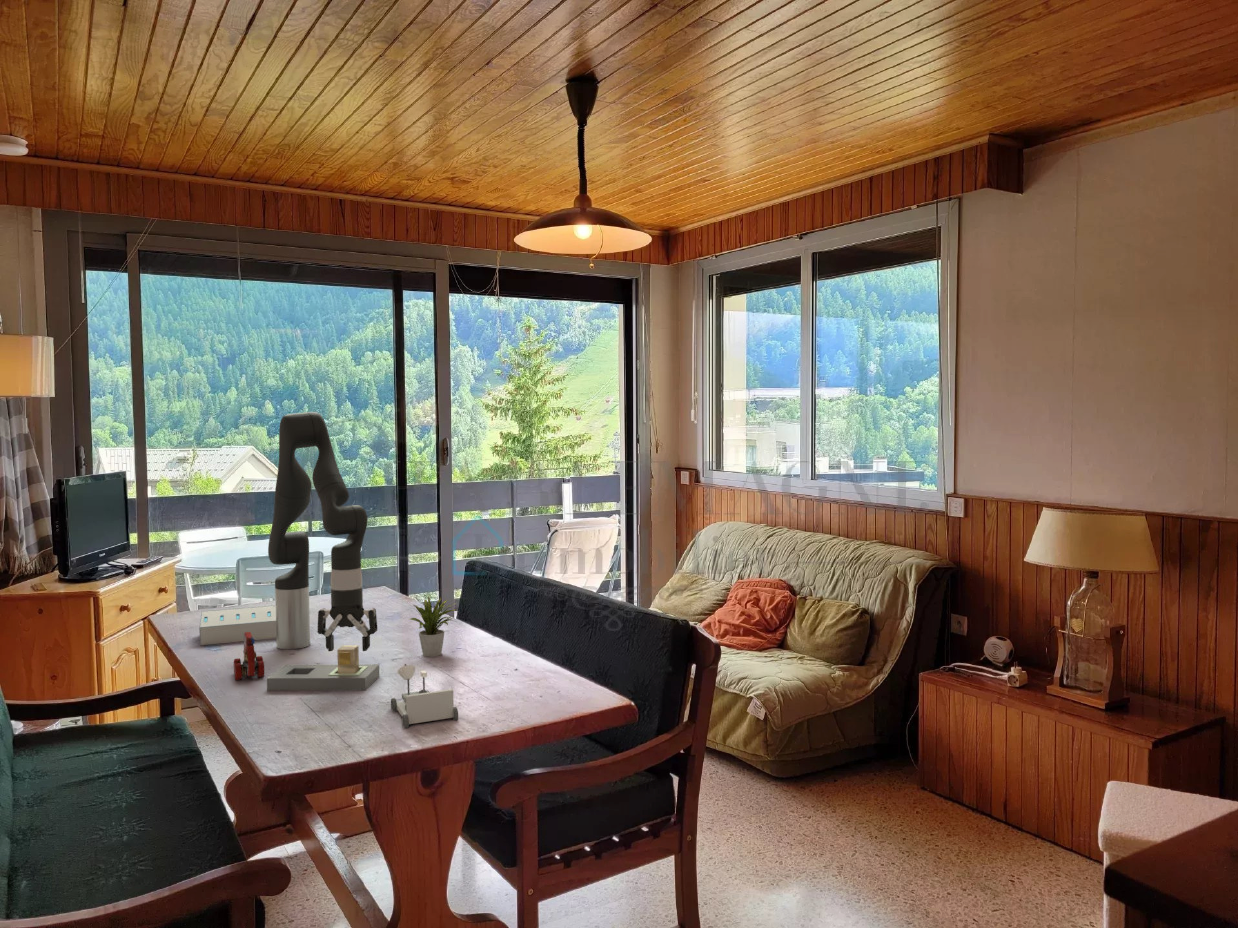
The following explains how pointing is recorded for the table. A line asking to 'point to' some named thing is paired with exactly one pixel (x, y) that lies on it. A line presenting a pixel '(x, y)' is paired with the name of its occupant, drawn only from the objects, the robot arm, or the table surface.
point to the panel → (321, 678)
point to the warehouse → (237, 624)
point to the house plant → (432, 627)
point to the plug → (348, 659)
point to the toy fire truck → (248, 660)
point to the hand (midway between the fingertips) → (348, 650)
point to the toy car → (423, 702)
